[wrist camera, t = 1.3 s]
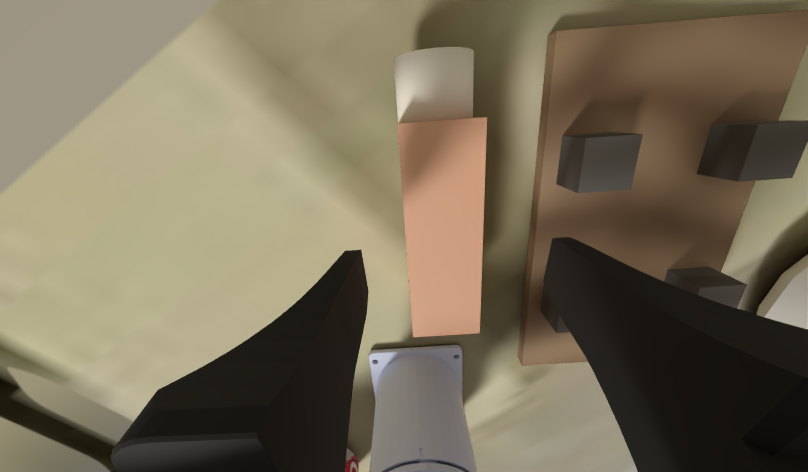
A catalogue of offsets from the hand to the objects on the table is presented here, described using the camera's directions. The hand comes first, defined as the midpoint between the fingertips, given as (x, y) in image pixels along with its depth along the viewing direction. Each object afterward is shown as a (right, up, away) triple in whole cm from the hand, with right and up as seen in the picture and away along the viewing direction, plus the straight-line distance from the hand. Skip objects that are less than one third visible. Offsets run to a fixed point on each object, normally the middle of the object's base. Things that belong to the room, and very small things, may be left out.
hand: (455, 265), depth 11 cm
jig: (+14, +2, +10) cm, 17 cm away
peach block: (0, +4, +9) cm, 10 cm away
